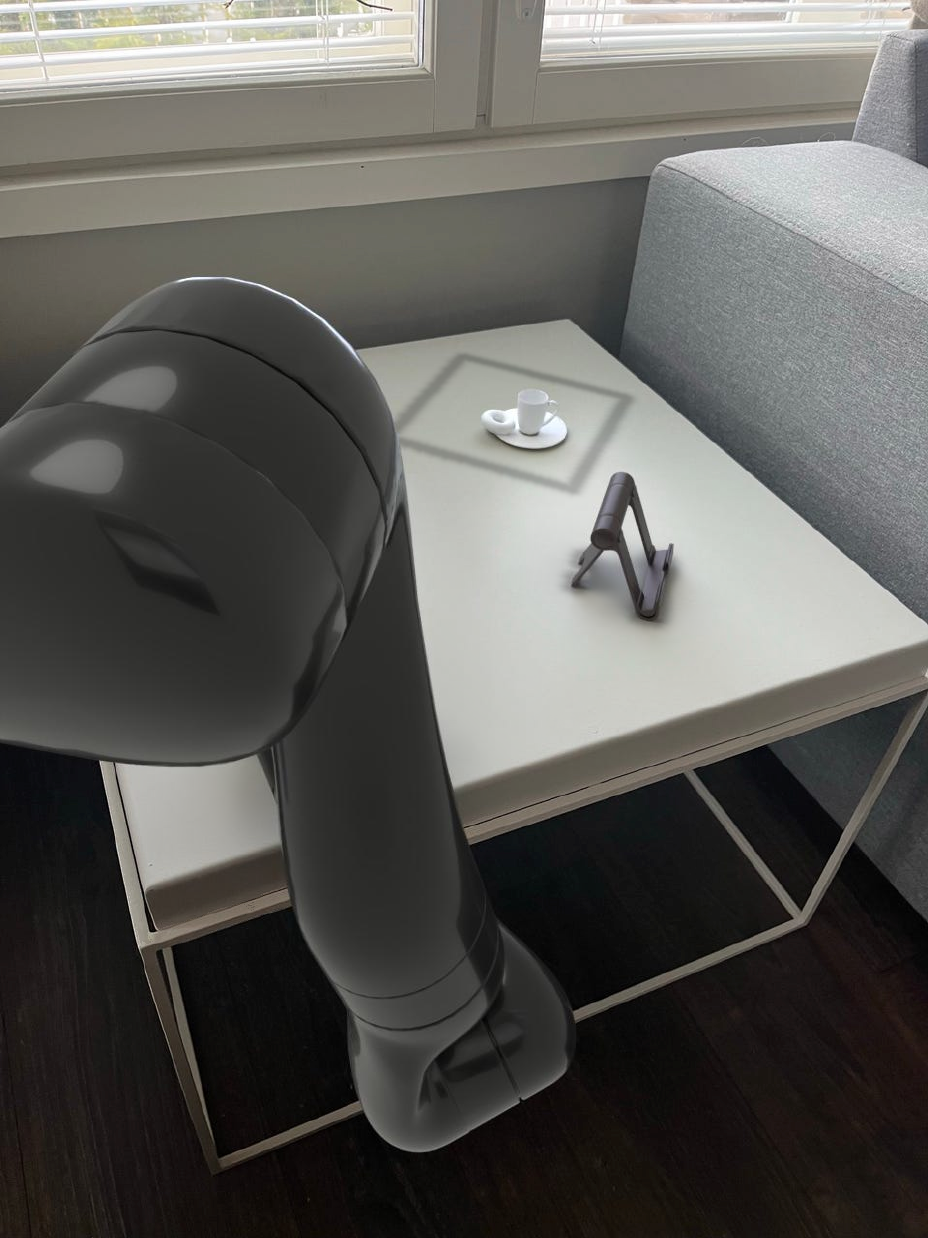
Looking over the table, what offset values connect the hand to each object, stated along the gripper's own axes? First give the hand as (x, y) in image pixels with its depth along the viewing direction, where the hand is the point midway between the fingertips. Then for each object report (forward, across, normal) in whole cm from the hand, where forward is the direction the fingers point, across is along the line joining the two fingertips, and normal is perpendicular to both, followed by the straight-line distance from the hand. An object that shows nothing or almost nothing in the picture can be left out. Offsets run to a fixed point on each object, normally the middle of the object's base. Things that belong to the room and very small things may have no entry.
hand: (254, 601), depth 67 cm
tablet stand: (+1, -32, +9) cm, 33 cm away
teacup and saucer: (+28, -36, +9) cm, 47 cm away
